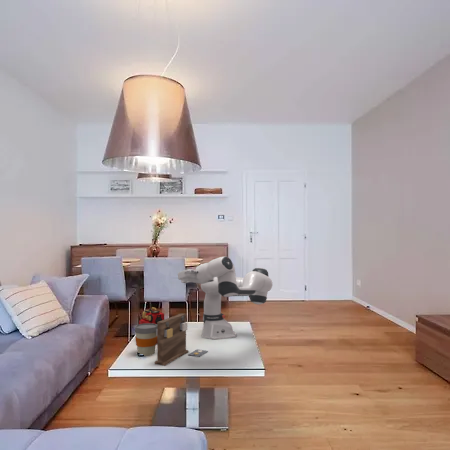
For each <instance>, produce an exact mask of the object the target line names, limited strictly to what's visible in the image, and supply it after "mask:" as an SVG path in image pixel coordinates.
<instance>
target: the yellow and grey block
mask: <svg viewBox="0 0 450 450" xmlns="http://www.w3.org/2000/svg"><path fill="white" fill-rule="evenodd" d="M156 336H157V329H156ZM172 336H173V328H171V329H164V337H167V338H170V337H172Z"/></svg>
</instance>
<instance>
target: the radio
mask: <svg viewBox="0 0 450 450" xmlns="http://www.w3.org/2000/svg"><path fill="white" fill-rule="evenodd" d="M141 315H142V316H141V317H142V318H141V319H139V321H138V325H139V324H145V323H153V324H157V322H159V321H162V320H165V313H164V312H160V310H157V308H156V307H153V306H152V307H151V308H150V309H145V310H144V311H142V314H141Z"/></svg>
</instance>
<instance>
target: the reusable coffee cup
mask: <svg viewBox="0 0 450 450" xmlns="http://www.w3.org/2000/svg"><path fill="white" fill-rule="evenodd" d="M156 329H157V324H153V323H145V324H139V323H138V324H137V325H135V327H134V333H135V337H134V338H135V346H136V347H137V348H136V349H137V354H138V353H140V354H143V355H144V356H143V357H150V356H153V355H155V353H156V347H157V336H156Z"/></svg>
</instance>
